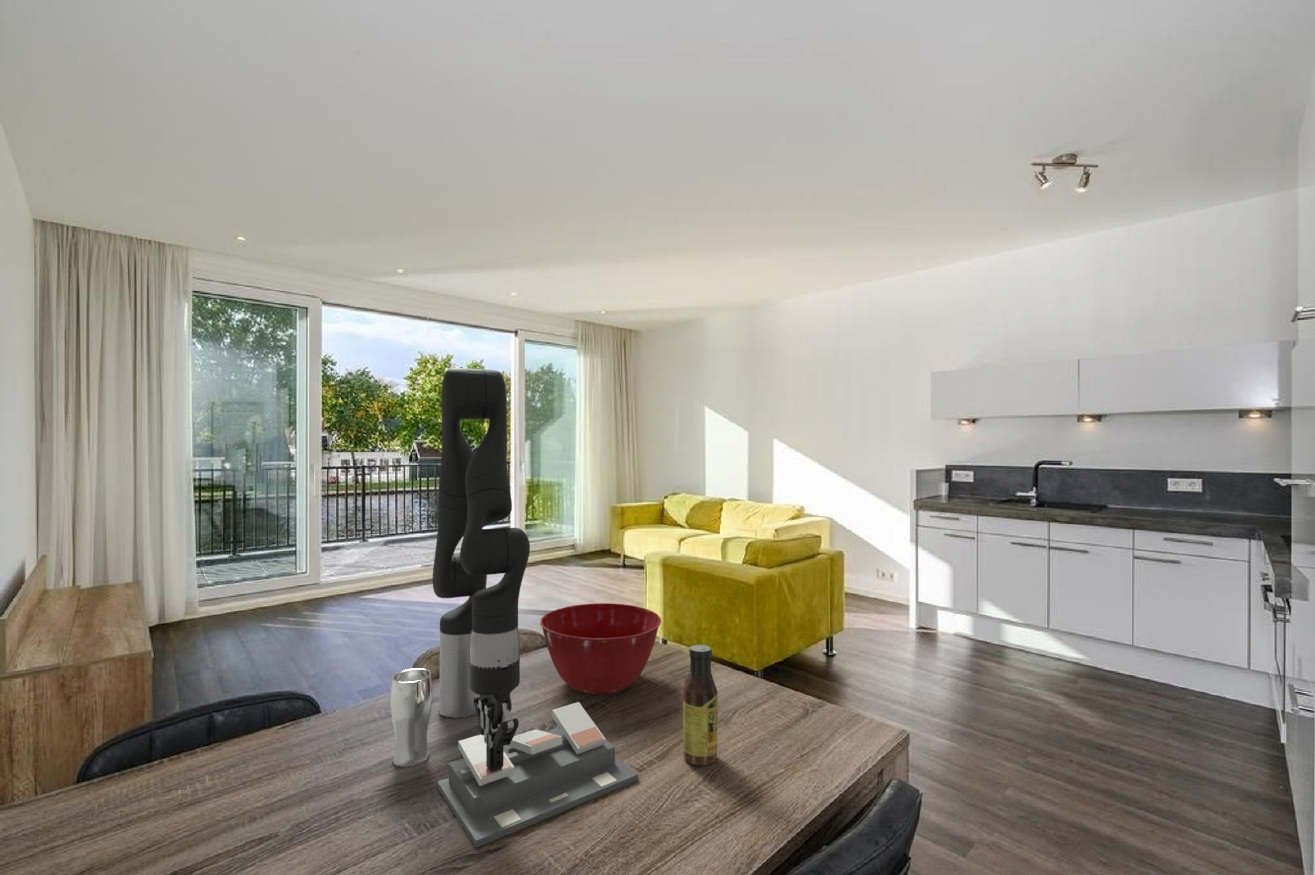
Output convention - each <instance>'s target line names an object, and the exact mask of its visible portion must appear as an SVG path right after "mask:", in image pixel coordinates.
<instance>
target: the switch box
mask: <svg viewBox="0 0 1315 875" xmlns="http://www.w3.org/2000/svg"><path fill="white" fill-rule="evenodd" d="M597 728H598V729H599V730H600V727H598V726H597ZM546 732H547V733H551V734H554V735H558V736H562V745H559V746H556V747H553V748H550V749H547V750H544V751H541V752H538V753H535V754H532V755H531V754H529V753H526V752H523V751H520V750H518V749H515V748H512V747H509V746H508V745H505V746H504V752H505V754H506V755H507V757H508V758H509V760H510V761H511V763H512V764H513V766H514V774H512V775H509V776H507V777H504V778H501V779H498V780H495V781H492V782H490V783H487V784H484V785H481V786H479V784H478V782H477V781H476V779H475V777H474V775H473V773H472V772H471V770H470V768H469V766H468V765H467V763H466V761H465V759H464V757H463V758H460V759H457V760H454V761H451V762H449V763H447V764H448V769H447V770H448V775H447V776H448V777H446V778H443V779H441V780H437V782H436V784H437V785H436V786H437V787H436V788H437V790H438V791H439V793H440V794H441V796H442V797H443V799H444V800H445V802H446V804H447V805H448V806H449V808H450V810H451V811H452V813H453V814H454V817H456V819H457V821H458V822H459V823H460V826H461V827H462V828H463V830H464V831H465V833H466V834H467V836H468V837H469V839H470V841H471V843H474V844H473V846H475V848H476V847H477V848H479V847H481V846H484V845H486V844H488V843H491V842H493V841H496V840H498V839H500V838H503V837H505V836H504V835H506V836H508V835H510V834H513V833H515V832H517V830H518V831H519V830H522V829H524V828H527V827H530V826H531V825H532V826H533V825H534V824H537V823H538V822H542V821H544V820H546V819H548V818H552V817H553V816H556V815H559V814H560V813H563V812H565V811H568V810H570V809H573V808H575V807H577V806H579V805H583V804H584V803H588V802H590V801H591V800H594V799H596V798H598V797H602V796H603V795H605V794H609V793H610V792H611V793H612V792H613V791H616V790H618V789H621V788H623V787H624V786H627V785H631V784H632V783H635V782H637V781H639V773H637V772H636V771H635V770H633V769H632V768H631V767H630V766H628V764H626V763H625V762H623V761H622V760H621V759H620V758H618V757H617V756H616V747H615V745H613V744H612V742H609V741H608V740H605V745H602V746H599V747H597V748H594V749H591V750H588V751H585V752H583V753H580V754H576V752H575V751H574V749H573V748H572V746H571V745H570V743H569V742H568V740H567V739H566V737H565V735H564V734H563V732H562V731H561V729H560V728H559V727H557V728H553V729H550V730H547V731H546ZM495 839H496V840H495Z"/></svg>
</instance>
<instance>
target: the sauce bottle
mask: <svg viewBox="0 0 1315 875" xmlns="http://www.w3.org/2000/svg"><path fill="white" fill-rule="evenodd" d="M712 654H713V653H712V647H710V646H709V645H705V644H695V645H691V646H690V647H689V657H690V658H689V659H690V668H689V672H690V673H689V674H688V676H687V678H686V679H685V680H684V683H683V701H682V702H683V703H682V749H683V758H684V760H685V761H686V762H687V763H688V764H690V765H693V766H698V767H705V766H708V765H711V764H713V763H714V762H715V761H716V759H717V757H718V756H717V752H718V698H719V697H718V696H719V695H718V694H719V693H718V689H717V686H716V684H715V681H714V678H713V675H712V667H711V666H712V665H711V663H712V661H711V658H712Z"/></svg>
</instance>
